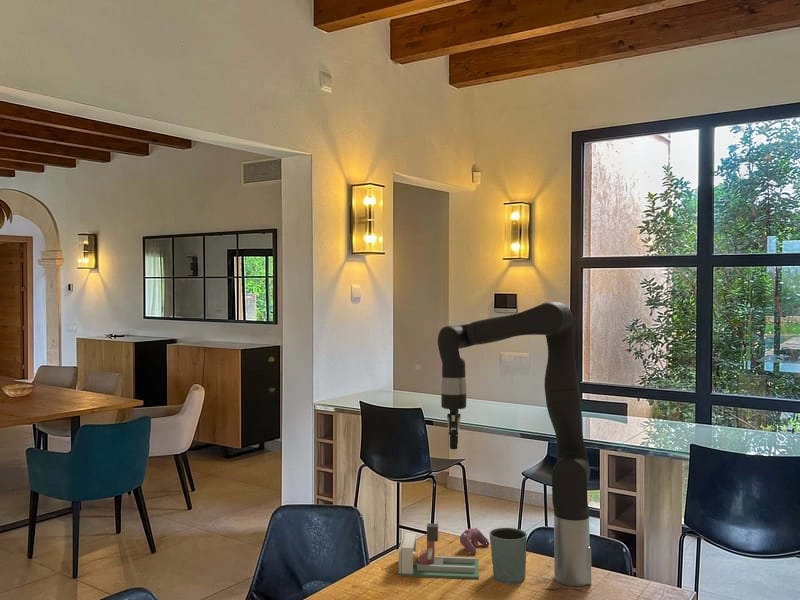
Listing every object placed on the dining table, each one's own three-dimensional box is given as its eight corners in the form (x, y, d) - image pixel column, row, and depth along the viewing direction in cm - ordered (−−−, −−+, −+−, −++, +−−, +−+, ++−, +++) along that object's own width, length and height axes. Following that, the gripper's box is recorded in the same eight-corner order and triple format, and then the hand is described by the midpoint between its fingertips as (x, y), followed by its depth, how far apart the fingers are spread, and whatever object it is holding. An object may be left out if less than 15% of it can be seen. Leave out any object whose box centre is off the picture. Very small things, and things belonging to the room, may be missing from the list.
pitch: (478, 561, 191) (478, 554, 191) (478, 579, 178) (478, 571, 178) (402, 558, 193) (402, 551, 193) (398, 575, 180) (398, 568, 180)
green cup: (527, 586, 173) (526, 540, 173) (488, 583, 175) (488, 538, 175) (527, 571, 183) (527, 528, 183) (490, 569, 185) (490, 526, 185)
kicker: (444, 556, 192) (444, 518, 192) (442, 575, 178) (442, 533, 179) (422, 555, 193) (421, 517, 193) (418, 574, 179) (418, 533, 179)
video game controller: (479, 548, 205) (470, 526, 207) (491, 544, 203) (482, 522, 205) (463, 558, 197) (454, 535, 199) (476, 554, 195) (466, 531, 197)
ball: (402, 551, 189) (408, 564, 188) (401, 556, 185) (407, 570, 184) (415, 546, 188) (421, 559, 188) (414, 551, 184) (420, 564, 184)
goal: (416, 557, 192) (416, 533, 192) (412, 573, 180) (412, 548, 180) (403, 556, 193) (403, 532, 193) (398, 573, 180) (398, 547, 180)
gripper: (466, 395, 190) (466, 451, 190) (466, 389, 204) (466, 442, 204) (440, 394, 191) (440, 451, 190) (442, 389, 205) (442, 441, 205)
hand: (454, 446), depth 197 cm, fingers open, 8 cm apart
